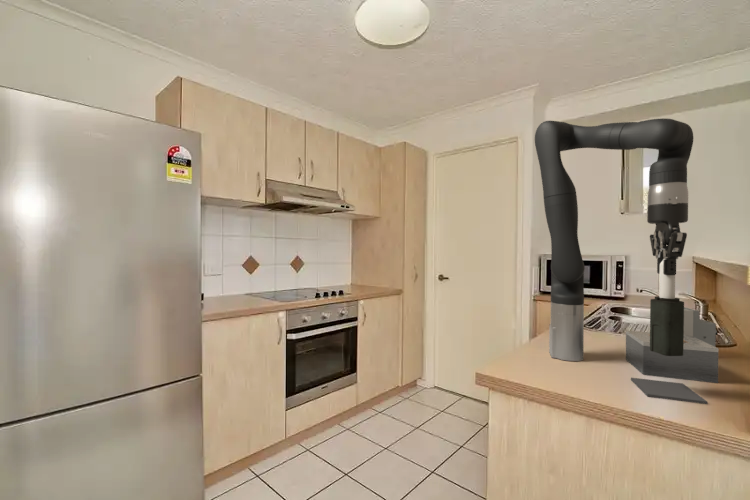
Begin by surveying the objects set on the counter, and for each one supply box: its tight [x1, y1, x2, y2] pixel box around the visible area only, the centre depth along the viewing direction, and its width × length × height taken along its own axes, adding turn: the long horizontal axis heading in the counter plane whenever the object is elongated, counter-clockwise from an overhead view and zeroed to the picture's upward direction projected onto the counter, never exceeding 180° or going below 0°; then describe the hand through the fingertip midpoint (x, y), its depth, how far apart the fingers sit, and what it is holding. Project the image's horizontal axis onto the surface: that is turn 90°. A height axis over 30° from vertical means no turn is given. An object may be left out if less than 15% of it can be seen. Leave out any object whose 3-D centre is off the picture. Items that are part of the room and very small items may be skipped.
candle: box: [649, 259, 685, 356], centre depth 83 cm, size 5×5×25 cm
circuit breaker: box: [684, 306, 718, 347], centre depth 113 cm, size 8×14×15 cm, turn 78°
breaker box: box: [625, 330, 719, 384], centre depth 98 cm, size 16×14×9 cm
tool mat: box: [630, 377, 708, 405], centre depth 83 cm, size 11×11×1 cm
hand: (666, 274), depth 83 cm, fingers closed on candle, 3 cm apart
